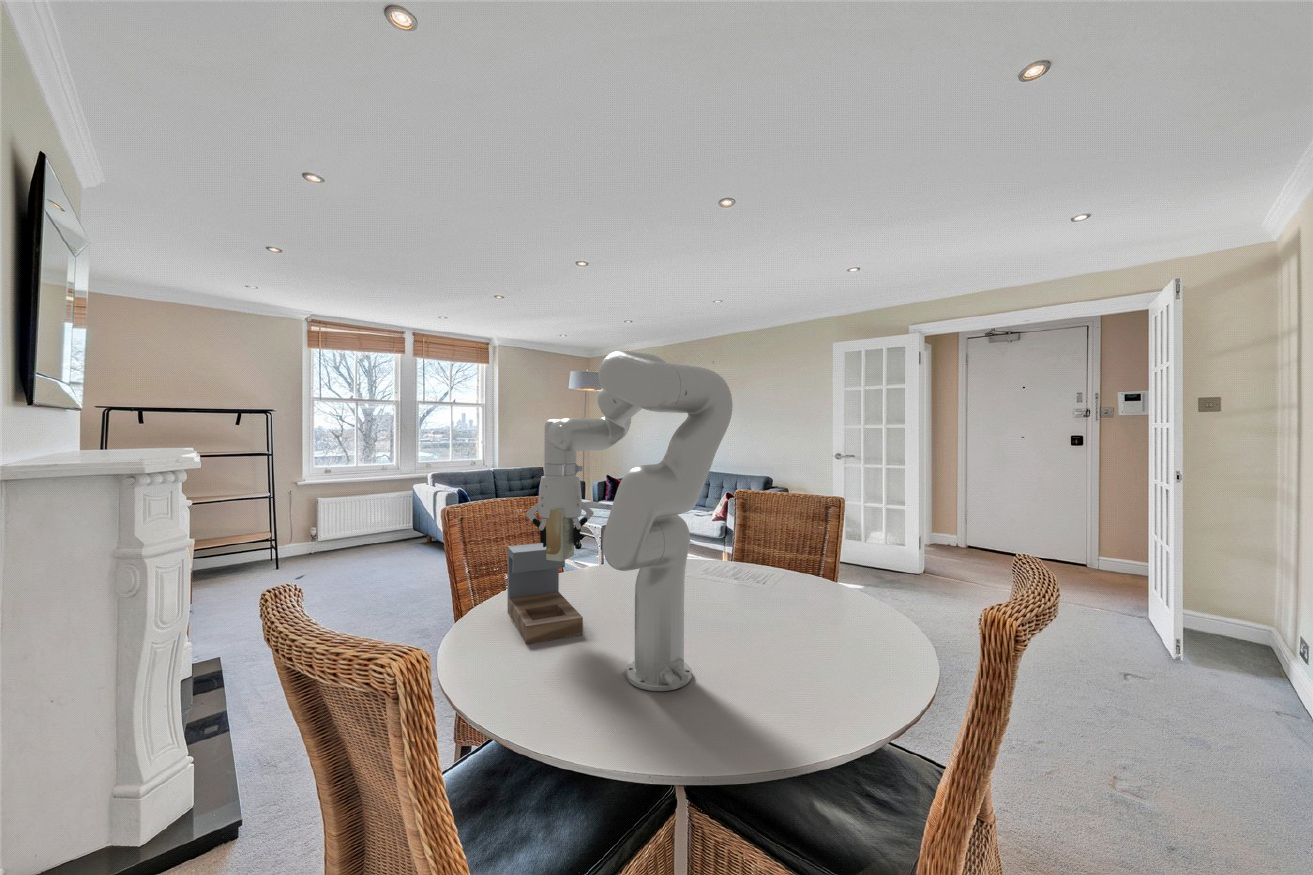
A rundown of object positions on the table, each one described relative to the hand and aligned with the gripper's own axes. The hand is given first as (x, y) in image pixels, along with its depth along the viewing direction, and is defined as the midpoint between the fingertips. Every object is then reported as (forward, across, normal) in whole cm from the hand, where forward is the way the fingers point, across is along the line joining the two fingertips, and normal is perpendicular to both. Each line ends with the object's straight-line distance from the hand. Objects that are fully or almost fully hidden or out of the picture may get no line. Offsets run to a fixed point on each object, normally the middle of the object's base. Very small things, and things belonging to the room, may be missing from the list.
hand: (560, 544), depth 126 cm
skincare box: (+3, 0, 0) cm, 3 cm away
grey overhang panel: (+20, +6, -11) cm, 24 cm away
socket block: (+20, +4, -3) cm, 20 cm away
